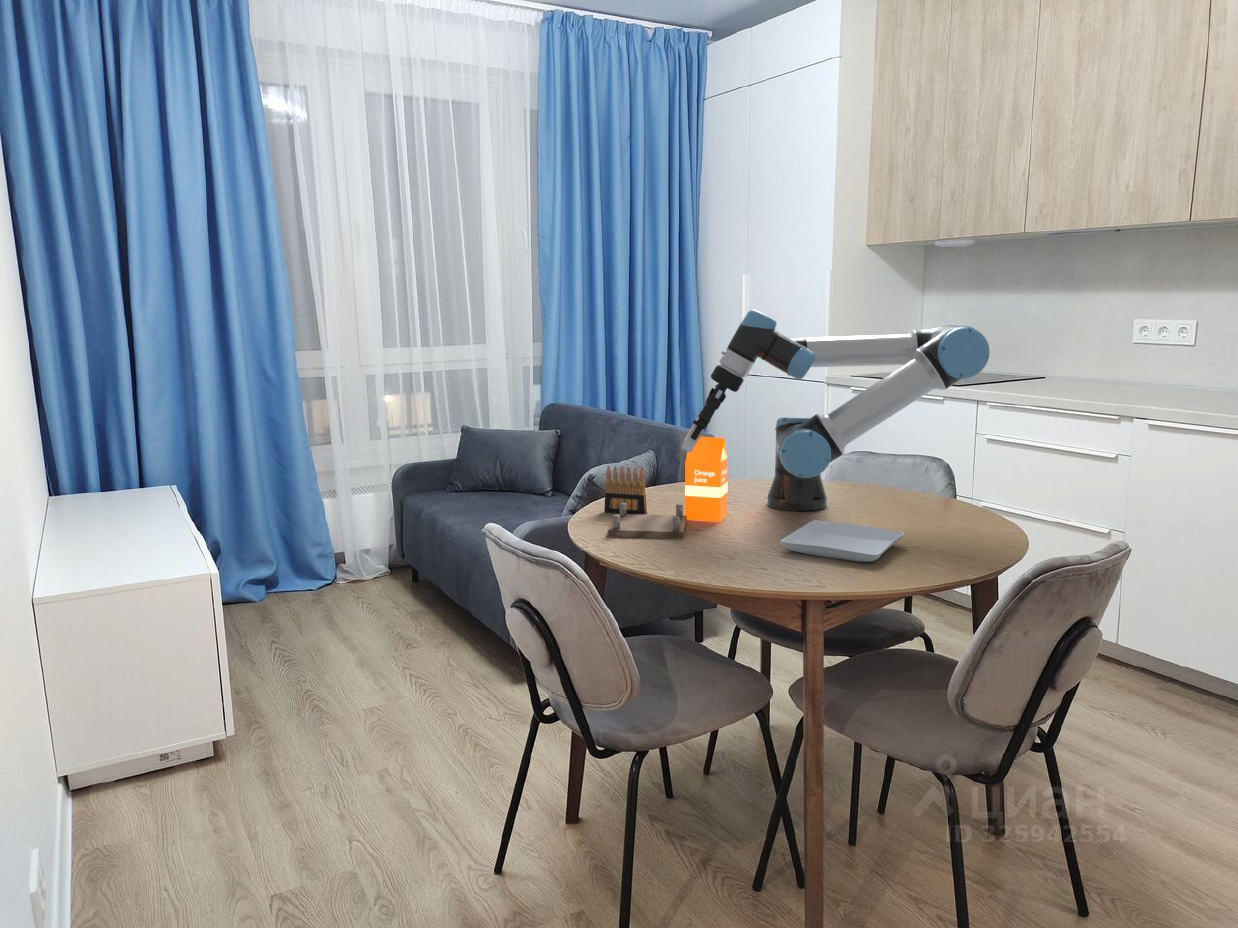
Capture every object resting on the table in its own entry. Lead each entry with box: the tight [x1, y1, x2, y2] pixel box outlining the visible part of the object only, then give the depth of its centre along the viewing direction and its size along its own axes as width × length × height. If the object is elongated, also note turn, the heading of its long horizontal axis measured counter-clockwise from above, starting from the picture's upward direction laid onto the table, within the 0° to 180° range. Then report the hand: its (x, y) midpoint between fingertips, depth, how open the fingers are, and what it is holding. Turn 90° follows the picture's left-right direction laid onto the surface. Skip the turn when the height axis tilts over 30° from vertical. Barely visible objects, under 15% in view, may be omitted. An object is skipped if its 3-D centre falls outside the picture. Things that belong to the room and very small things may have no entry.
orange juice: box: [684, 436, 729, 523], centre depth 222 cm, size 8×9×20 cm
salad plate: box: [779, 519, 906, 563], centre depth 194 cm, size 21×21×3 cm
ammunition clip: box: [604, 465, 648, 515], centre depth 228 cm, size 11×2×12 cm, turn 71°
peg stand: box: [607, 503, 688, 539], centre depth 212 cm, size 17×16×4 cm
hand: (687, 446), depth 223 cm, fingers open, 13 cm apart
